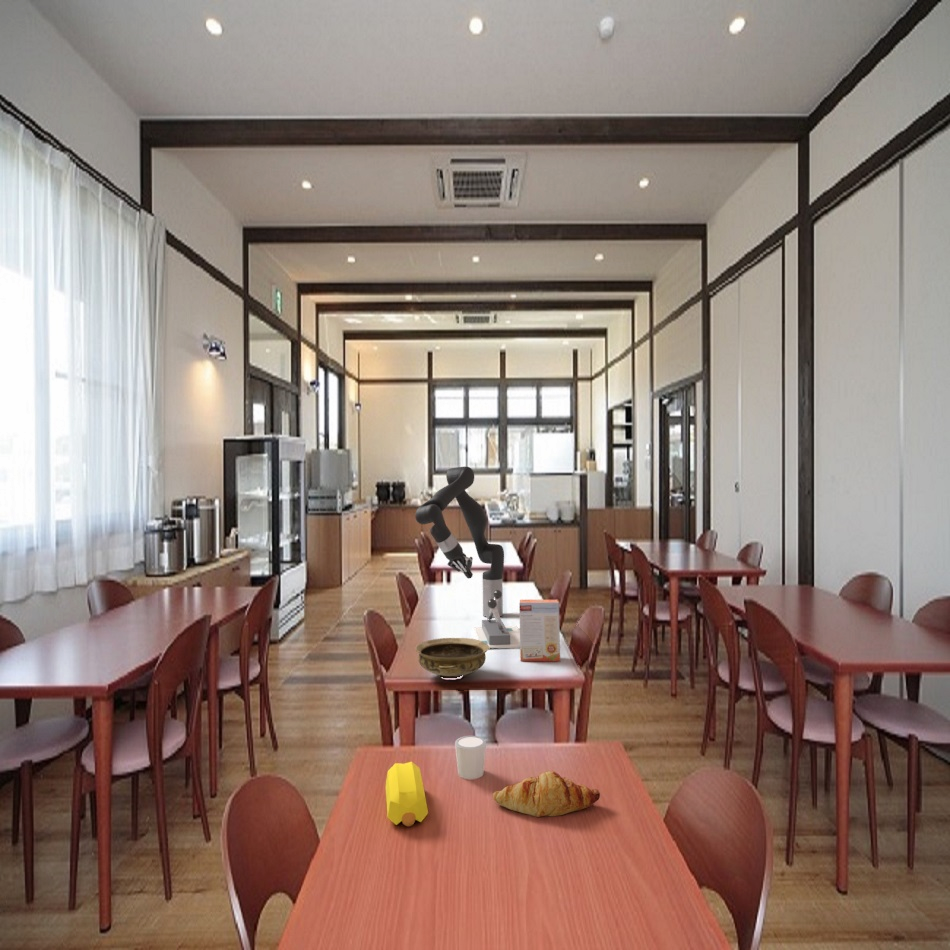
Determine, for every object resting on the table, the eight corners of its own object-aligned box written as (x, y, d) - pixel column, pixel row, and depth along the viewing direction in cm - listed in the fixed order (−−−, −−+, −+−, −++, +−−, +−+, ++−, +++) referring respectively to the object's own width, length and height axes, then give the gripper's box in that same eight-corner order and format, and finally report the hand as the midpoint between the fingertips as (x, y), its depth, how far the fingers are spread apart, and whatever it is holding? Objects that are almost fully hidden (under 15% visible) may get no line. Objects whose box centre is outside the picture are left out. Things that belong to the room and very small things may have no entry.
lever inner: (483, 618, 261) (494, 588, 262) (492, 621, 262) (502, 590, 262) (484, 620, 258) (495, 589, 258) (493, 623, 258) (503, 592, 259)
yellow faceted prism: (421, 783, 135) (385, 786, 134) (420, 752, 135) (384, 755, 134) (429, 829, 117) (388, 834, 116) (429, 794, 117) (387, 798, 116)
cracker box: (559, 657, 225) (558, 598, 225) (560, 662, 219) (559, 602, 219) (520, 656, 226) (519, 598, 226) (520, 661, 220) (519, 602, 220)
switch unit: (474, 629, 265) (474, 619, 265) (516, 628, 267) (516, 617, 267) (482, 649, 235) (482, 637, 235) (529, 647, 237) (529, 635, 237)
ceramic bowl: (483, 694, 188) (483, 661, 188) (405, 691, 191) (405, 659, 191) (493, 663, 218) (493, 635, 218) (425, 662, 221) (425, 633, 221)
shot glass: (462, 783, 134) (462, 750, 134) (450, 769, 140) (450, 738, 140) (491, 776, 137) (491, 744, 137) (478, 763, 143) (478, 733, 143)
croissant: (493, 831, 122) (492, 805, 119) (492, 784, 131) (491, 759, 127) (602, 829, 122) (605, 802, 118) (594, 782, 131) (596, 756, 127)
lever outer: (497, 632, 244) (485, 600, 243) (506, 628, 244) (494, 596, 244) (499, 634, 240) (486, 602, 240) (507, 631, 241) (495, 598, 240)
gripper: (465, 537, 253) (486, 569, 259) (441, 541, 261) (462, 572, 267) (457, 549, 248) (478, 582, 254) (433, 553, 256) (454, 584, 262)
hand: (470, 576), depth 261 cm, fingers closed
